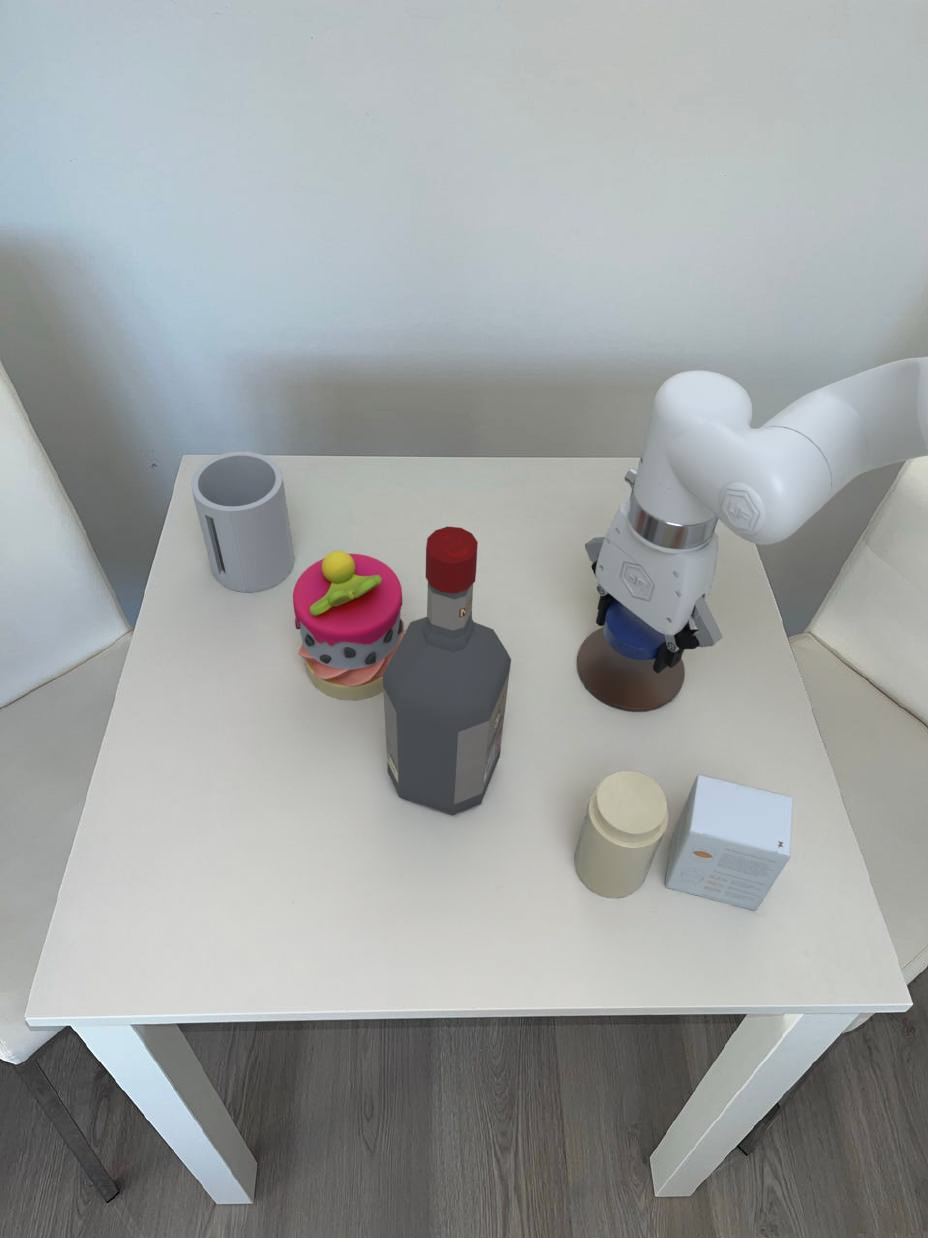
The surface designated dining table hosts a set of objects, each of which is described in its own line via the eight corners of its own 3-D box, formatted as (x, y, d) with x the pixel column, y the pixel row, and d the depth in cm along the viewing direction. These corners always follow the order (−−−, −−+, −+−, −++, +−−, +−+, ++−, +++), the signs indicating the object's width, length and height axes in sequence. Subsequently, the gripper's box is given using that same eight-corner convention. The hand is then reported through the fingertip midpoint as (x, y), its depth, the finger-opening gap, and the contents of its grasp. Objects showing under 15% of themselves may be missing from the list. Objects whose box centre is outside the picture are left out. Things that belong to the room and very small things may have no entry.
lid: (588, 629, 92) (590, 617, 91) (635, 593, 95) (638, 582, 94) (642, 672, 89) (645, 661, 88) (688, 634, 92) (692, 623, 91)
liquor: (505, 746, 90) (533, 519, 67) (473, 827, 84) (493, 609, 61) (416, 718, 92) (415, 487, 69) (379, 795, 86) (365, 571, 63)
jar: (652, 843, 84) (678, 779, 75) (639, 908, 80) (665, 848, 71) (583, 822, 85) (600, 757, 76) (566, 885, 81) (583, 824, 72)
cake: (281, 657, 96) (262, 555, 84) (362, 606, 101) (354, 503, 89) (344, 721, 91) (332, 622, 80) (426, 665, 96) (426, 564, 84)
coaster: (691, 643, 99) (693, 640, 98) (672, 725, 92) (674, 721, 92) (590, 616, 101) (591, 612, 100) (565, 694, 94) (565, 690, 94)
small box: (760, 855, 83) (796, 796, 75) (756, 913, 80) (793, 858, 72) (671, 832, 84) (697, 771, 76) (662, 888, 81) (689, 830, 73)
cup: (302, 537, 107) (291, 455, 98) (283, 596, 101) (270, 515, 92) (224, 529, 107) (205, 447, 98) (201, 587, 102) (179, 506, 92)
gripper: (570, 475, 82) (548, 608, 96) (726, 590, 74) (678, 717, 88) (627, 441, 85) (598, 574, 99) (783, 547, 77) (728, 675, 91)
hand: (636, 640), depth 93 cm, fingers closed on lid, 7 cm apart
